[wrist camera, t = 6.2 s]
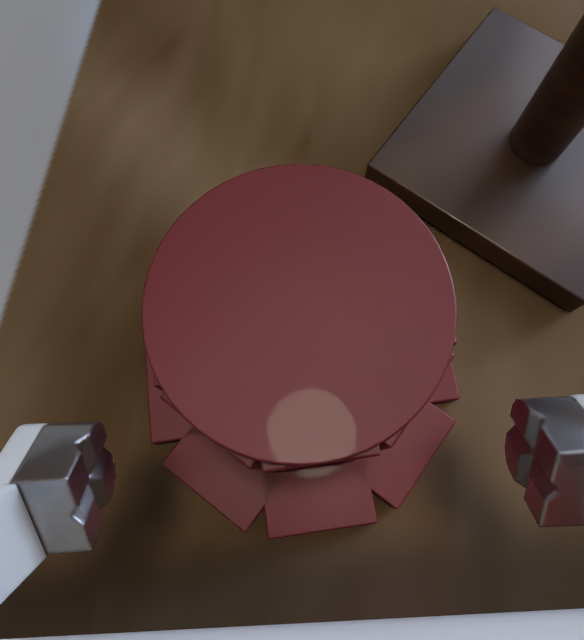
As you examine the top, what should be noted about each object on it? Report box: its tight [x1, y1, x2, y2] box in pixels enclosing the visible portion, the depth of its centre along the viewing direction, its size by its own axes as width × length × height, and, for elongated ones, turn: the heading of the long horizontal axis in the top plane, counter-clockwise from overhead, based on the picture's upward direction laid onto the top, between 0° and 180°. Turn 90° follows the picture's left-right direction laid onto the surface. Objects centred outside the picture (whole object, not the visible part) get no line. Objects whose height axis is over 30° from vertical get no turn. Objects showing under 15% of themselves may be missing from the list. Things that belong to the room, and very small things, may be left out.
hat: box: [142, 164, 460, 539], centre depth 14 cm, size 10×10×8 cm
